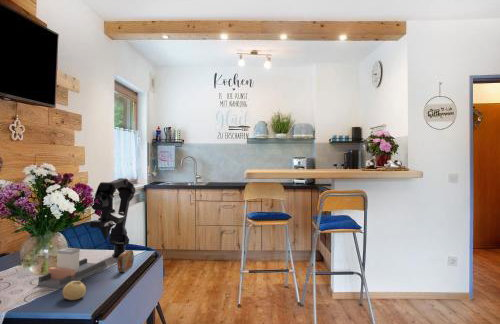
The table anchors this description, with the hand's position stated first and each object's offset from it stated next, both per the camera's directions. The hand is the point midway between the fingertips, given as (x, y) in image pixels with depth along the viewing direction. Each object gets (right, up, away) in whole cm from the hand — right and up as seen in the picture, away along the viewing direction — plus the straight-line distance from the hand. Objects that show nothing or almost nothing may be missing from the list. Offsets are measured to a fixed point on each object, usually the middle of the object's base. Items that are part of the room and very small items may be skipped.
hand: (106, 238), depth 174 cm
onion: (+5, -14, -41) cm, 44 cm away
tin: (+12, -14, -6) cm, 19 cm away
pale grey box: (-8, -11, -21) cm, 25 cm away
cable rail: (-7, -13, -17) cm, 22 cm away
